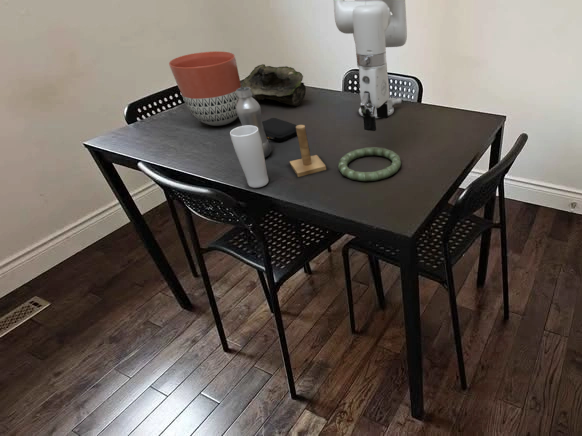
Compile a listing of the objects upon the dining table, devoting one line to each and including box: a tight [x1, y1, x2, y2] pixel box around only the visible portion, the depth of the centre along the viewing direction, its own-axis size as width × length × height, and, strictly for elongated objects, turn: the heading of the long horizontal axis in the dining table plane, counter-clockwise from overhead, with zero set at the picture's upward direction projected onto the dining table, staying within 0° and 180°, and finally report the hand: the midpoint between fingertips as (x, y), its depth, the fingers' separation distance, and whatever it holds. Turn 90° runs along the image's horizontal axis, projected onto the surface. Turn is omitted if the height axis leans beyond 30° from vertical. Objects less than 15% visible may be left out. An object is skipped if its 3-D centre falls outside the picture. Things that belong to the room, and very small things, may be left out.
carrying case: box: [262, 117, 297, 142], centre depth 135 cm, size 11×3×15 cm
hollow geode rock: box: [242, 63, 307, 107], centre depth 159 cm, size 28×13×15 cm
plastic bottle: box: [236, 86, 272, 158], centre depth 117 cm, size 6×7×20 cm
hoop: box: [337, 146, 402, 182], centre depth 115 cm, size 17×17×2 cm
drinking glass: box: [229, 125, 270, 189], centre depth 106 cm, size 7×7×15 cm
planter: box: [168, 50, 242, 127], centre depth 139 cm, size 20×20×21 cm
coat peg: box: [289, 124, 327, 178], centre depth 113 cm, size 8×8×12 cm
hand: (376, 123), depth 116 cm, fingers open, 9 cm apart
